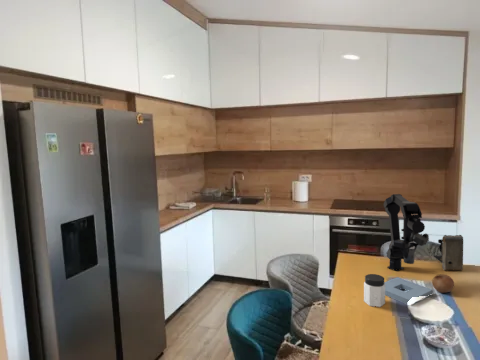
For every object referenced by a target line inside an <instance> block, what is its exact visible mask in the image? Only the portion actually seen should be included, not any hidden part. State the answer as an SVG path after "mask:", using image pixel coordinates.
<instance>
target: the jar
mask: <svg viewBox="0 0 480 360" xmlns="http://www.w3.org/2000/svg"><path fill="white" fill-rule="evenodd" d="M384 282H385V277H384V276H382V275H380V274H376V273H368V274H365V276H364V282H363V302H364V303H366V304H367V306H369V307H375V306H376V308H381V307H383V306H384V305H385V304H386V295H385V284H384Z"/></svg>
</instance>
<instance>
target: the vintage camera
mask: <svg viewBox="0 0 480 360" xmlns="http://www.w3.org/2000/svg"><path fill="white" fill-rule="evenodd" d="M437 242H438V244H440V245H439V246H438V249H439V251H440V253H441V255H437V254H435V255H433V257H434V258H435V259H436V260H437V261H439V262H440V263H441V264H442V265H441V266H442V270H443V271H445V272H446V271H453V272H454V271H456V272H457V271H458V272H459V271H463V269H464V237H463V235H462V234H459V235H457V234H456V235H447V234H444V235H443V236H442V238H441V239H438V240H437Z"/></svg>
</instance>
